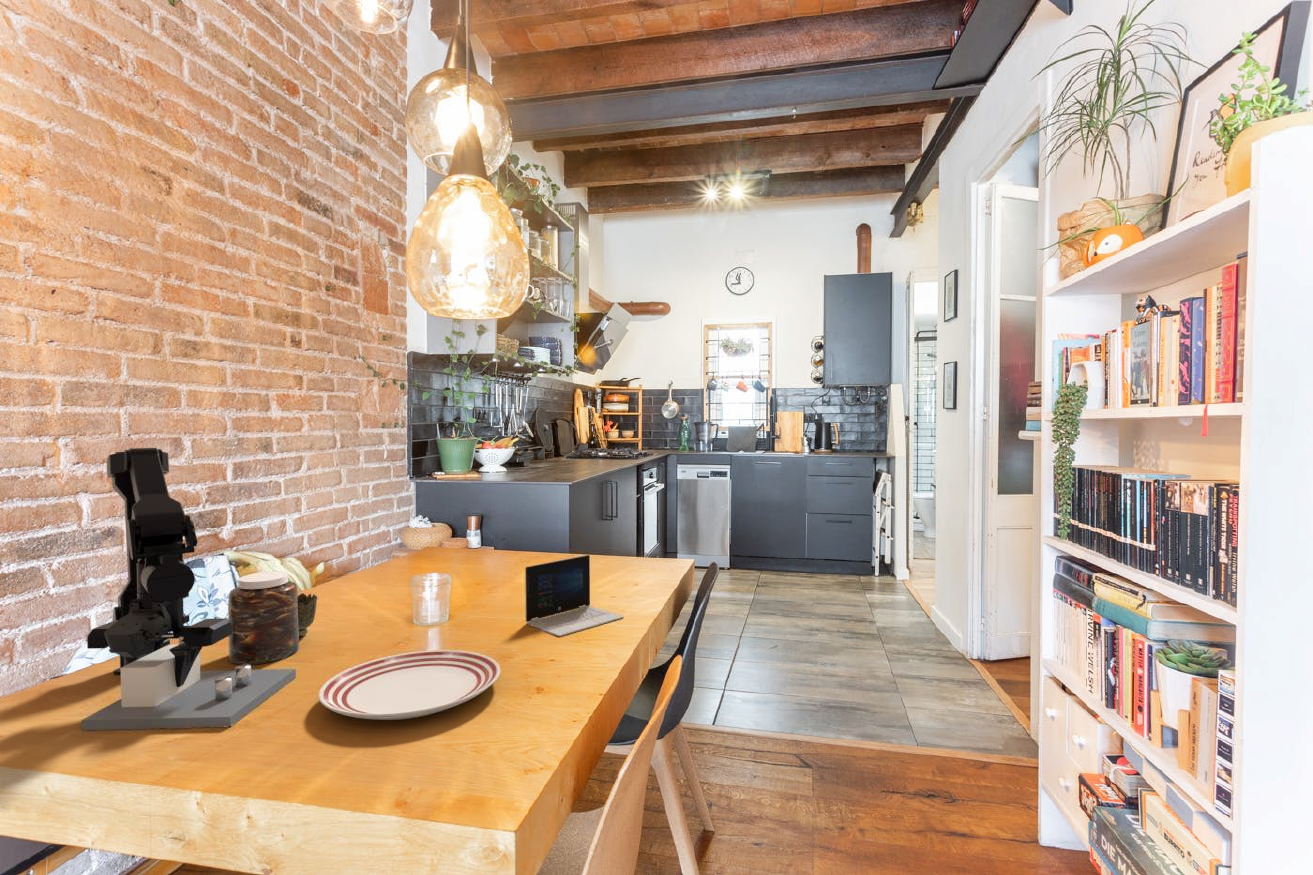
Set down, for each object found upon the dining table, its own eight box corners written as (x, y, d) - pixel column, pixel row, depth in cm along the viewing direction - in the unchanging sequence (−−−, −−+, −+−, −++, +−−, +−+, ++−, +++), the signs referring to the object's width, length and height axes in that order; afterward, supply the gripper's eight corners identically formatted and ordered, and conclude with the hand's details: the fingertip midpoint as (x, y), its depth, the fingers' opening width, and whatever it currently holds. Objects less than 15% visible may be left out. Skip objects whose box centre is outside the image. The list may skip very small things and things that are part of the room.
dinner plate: (330, 676, 111) (330, 657, 111) (491, 655, 121) (490, 638, 121) (305, 752, 86) (304, 728, 86) (510, 718, 95) (510, 696, 95)
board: (81, 730, 92) (81, 720, 92) (171, 679, 110) (171, 671, 110) (230, 726, 93) (230, 716, 93) (295, 677, 111) (295, 668, 110)
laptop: (559, 639, 131) (558, 576, 130) (525, 625, 139) (524, 566, 139) (624, 619, 143) (623, 562, 143) (589, 608, 152) (588, 554, 152)
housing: (121, 707, 96) (120, 667, 96) (169, 680, 106) (168, 644, 106) (155, 706, 96) (154, 667, 96) (200, 679, 106) (199, 644, 106)
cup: (286, 644, 127) (285, 605, 127) (270, 637, 131) (269, 599, 131) (324, 634, 133) (323, 596, 133) (308, 628, 137) (307, 591, 137)
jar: (314, 646, 126) (312, 571, 126) (263, 668, 115) (261, 585, 114) (266, 641, 129) (265, 567, 129) (212, 661, 118) (210, 581, 118)
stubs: (211, 701, 98) (211, 682, 98) (240, 682, 105) (240, 664, 105) (226, 701, 98) (226, 681, 98) (254, 682, 105) (253, 664, 105)
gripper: (53, 604, 92) (56, 710, 92) (185, 602, 93) (187, 708, 93) (115, 584, 103) (117, 679, 104) (233, 583, 104) (235, 677, 104)
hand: (162, 686), depth 101 cm, fingers closed on housing, 5 cm apart
